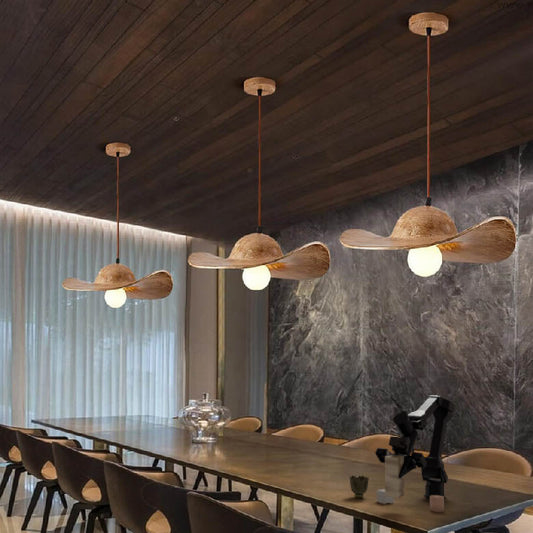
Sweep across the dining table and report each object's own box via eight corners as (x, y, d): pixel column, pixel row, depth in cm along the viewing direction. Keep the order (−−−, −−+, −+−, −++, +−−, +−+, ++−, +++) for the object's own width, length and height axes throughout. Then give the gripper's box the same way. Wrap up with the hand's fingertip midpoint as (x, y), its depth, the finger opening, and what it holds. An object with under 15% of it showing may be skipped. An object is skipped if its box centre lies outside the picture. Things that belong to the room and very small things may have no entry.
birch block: (391, 493, 261) (391, 454, 262) (404, 495, 258) (403, 456, 259) (385, 496, 257) (384, 456, 258) (397, 498, 254) (397, 458, 255)
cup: (366, 495, 283) (367, 475, 284) (370, 499, 275) (370, 478, 276) (348, 495, 283) (348, 475, 283) (351, 499, 275) (351, 478, 276)
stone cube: (385, 500, 275) (385, 488, 275) (393, 503, 271) (393, 491, 271) (376, 502, 272) (376, 489, 273) (384, 504, 268) (384, 492, 269)
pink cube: (439, 508, 263) (438, 494, 263) (446, 511, 258) (446, 497, 259) (427, 509, 261) (427, 495, 262) (434, 512, 256) (434, 498, 257)
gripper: (377, 425, 269) (362, 459, 259) (422, 430, 257) (408, 465, 247) (388, 445, 274) (373, 478, 264) (432, 450, 262) (419, 485, 253)
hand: (392, 476), depth 257 cm, fingers closed on birch block, 5 cm apart
